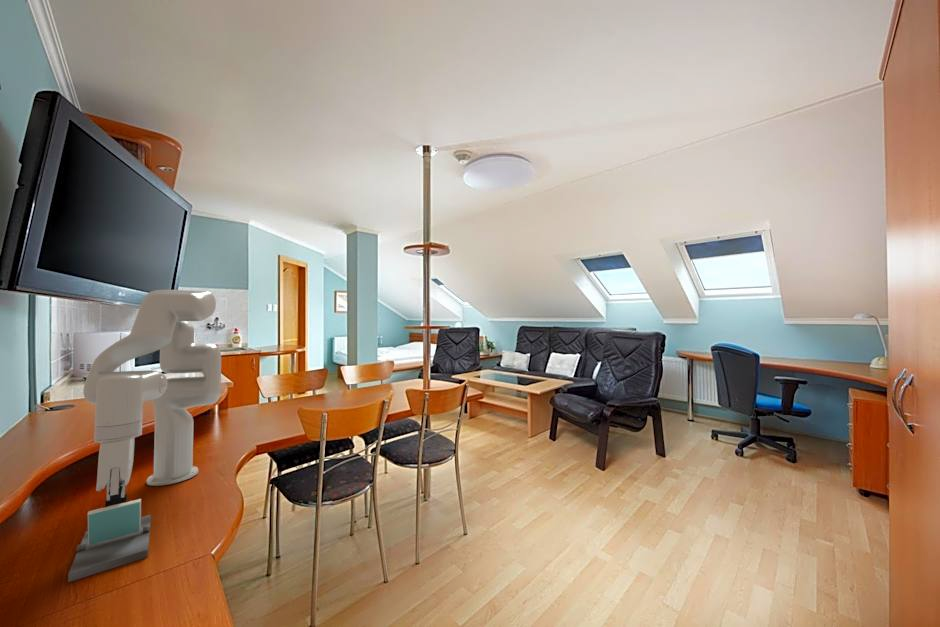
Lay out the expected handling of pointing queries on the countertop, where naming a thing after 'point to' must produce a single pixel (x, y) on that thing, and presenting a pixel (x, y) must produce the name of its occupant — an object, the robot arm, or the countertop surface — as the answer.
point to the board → (110, 552)
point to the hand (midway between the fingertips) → (115, 515)
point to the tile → (114, 521)
